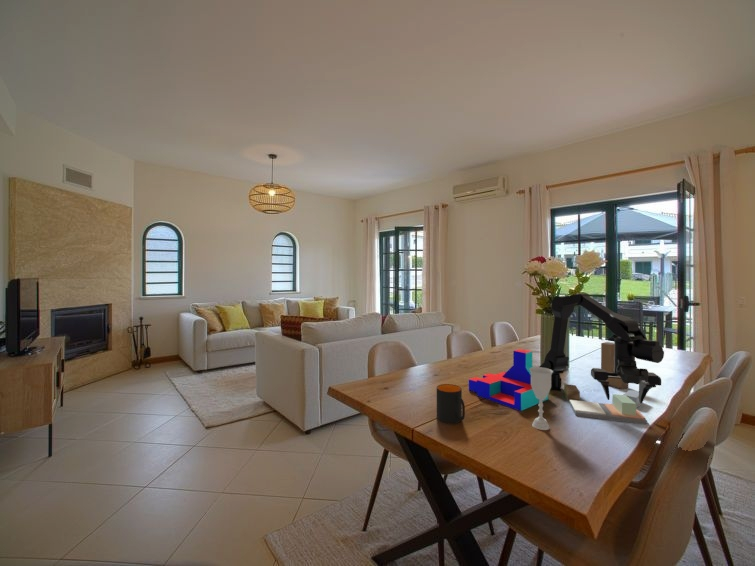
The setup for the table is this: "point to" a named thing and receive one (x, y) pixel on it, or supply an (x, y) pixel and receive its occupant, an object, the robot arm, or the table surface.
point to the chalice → (540, 392)
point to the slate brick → (633, 397)
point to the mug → (450, 404)
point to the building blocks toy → (509, 384)
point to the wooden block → (610, 364)
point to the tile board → (604, 412)
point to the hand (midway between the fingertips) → (624, 401)
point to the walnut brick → (571, 392)
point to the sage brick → (624, 404)
